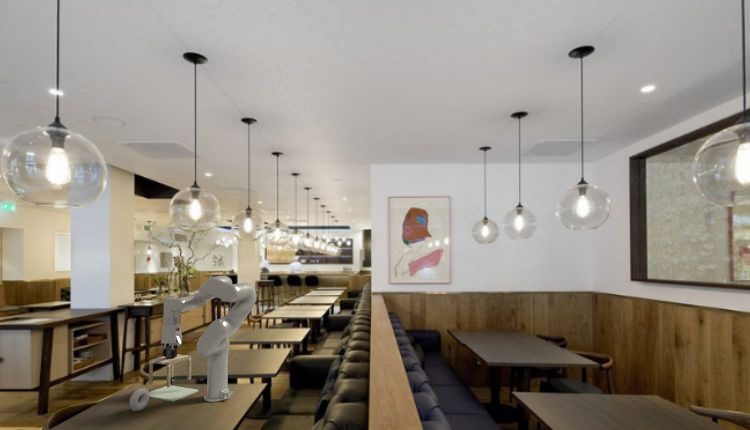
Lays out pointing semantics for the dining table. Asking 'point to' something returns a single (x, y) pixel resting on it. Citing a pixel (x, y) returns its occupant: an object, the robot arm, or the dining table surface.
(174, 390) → the mat
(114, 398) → the dining table surface
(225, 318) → the robot arm
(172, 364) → the miniature stool
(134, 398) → the donut
